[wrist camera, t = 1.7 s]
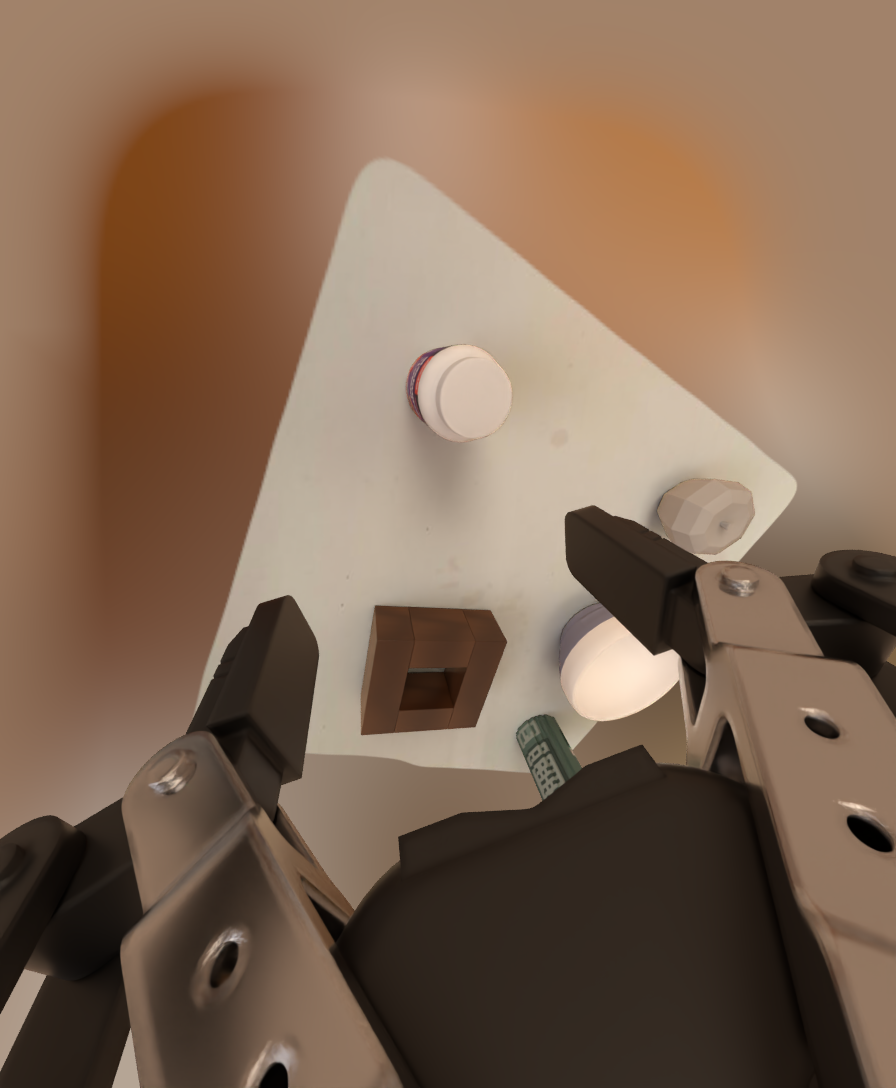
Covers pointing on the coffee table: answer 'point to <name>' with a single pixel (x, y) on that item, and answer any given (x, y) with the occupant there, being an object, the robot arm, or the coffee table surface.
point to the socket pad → (428, 642)
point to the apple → (706, 514)
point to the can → (547, 753)
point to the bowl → (610, 667)
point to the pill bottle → (459, 392)
